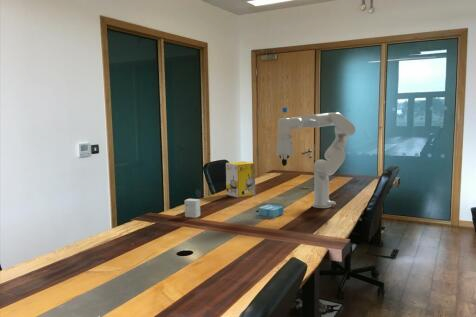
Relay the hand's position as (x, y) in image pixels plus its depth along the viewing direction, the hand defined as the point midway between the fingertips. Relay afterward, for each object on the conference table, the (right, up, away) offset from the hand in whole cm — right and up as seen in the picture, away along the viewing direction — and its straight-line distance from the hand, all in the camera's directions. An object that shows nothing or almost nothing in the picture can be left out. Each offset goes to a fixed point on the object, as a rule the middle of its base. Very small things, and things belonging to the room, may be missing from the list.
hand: (284, 165), depth 257 cm
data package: (-5, -28, -14) cm, 32 cm away
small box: (-58, -32, -11) cm, 67 cm away
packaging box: (-28, -24, +54) cm, 65 cm away
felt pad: (-12, -31, -11) cm, 35 cm away
